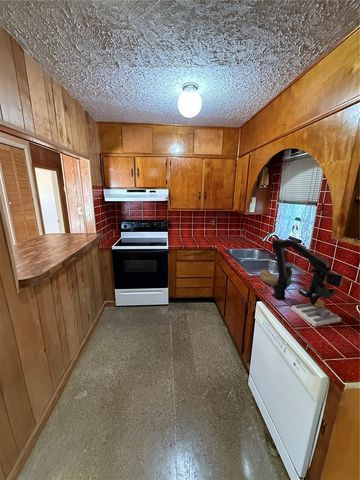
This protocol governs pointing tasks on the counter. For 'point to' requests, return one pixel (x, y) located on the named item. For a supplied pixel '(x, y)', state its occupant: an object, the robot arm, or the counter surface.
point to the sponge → (268, 277)
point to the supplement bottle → (289, 271)
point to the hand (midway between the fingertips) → (312, 304)
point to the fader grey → (322, 311)
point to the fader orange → (319, 303)
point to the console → (314, 315)
